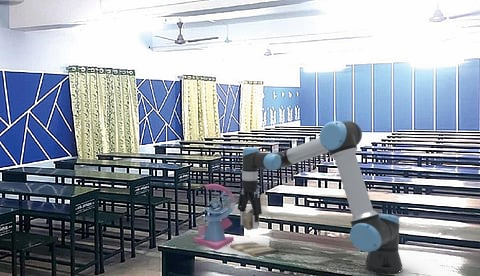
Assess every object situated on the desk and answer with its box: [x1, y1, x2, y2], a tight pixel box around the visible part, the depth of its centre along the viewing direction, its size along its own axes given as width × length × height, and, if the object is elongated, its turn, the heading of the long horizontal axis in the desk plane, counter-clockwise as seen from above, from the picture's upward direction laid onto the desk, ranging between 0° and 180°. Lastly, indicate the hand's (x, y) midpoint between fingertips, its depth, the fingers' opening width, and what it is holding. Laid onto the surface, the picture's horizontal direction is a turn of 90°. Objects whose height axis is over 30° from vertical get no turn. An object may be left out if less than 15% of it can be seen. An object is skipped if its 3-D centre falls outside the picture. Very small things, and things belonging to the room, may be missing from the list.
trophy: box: [193, 183, 237, 251], centre depth 248 cm, size 20×17×30 cm
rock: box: [242, 208, 260, 231], centre depth 243 cm, size 12×7×10 cm, turn 151°
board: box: [229, 240, 279, 258], centre depth 242 cm, size 20×14×1 cm
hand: (249, 226), depth 243 cm, fingers closed on rock, 9 cm apart
